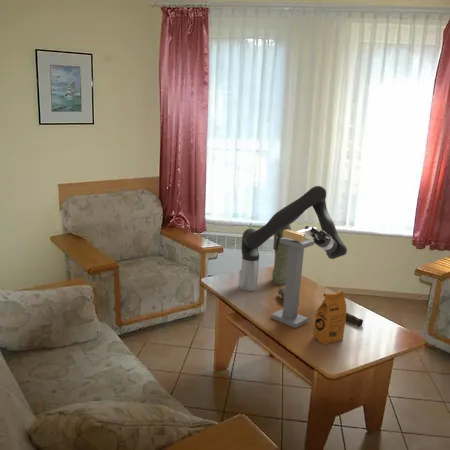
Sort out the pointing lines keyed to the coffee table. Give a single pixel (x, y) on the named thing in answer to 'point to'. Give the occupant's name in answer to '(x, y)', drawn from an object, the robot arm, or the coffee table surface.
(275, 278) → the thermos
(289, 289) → the headphone stand
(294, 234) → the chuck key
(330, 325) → the coffee package
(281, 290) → the rhino figurine
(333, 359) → the coffee table surface
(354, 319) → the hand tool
